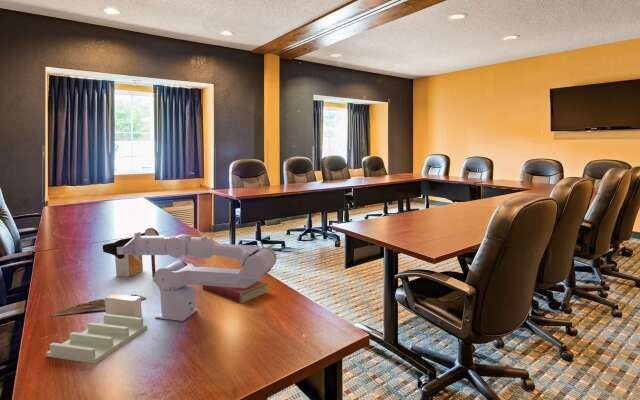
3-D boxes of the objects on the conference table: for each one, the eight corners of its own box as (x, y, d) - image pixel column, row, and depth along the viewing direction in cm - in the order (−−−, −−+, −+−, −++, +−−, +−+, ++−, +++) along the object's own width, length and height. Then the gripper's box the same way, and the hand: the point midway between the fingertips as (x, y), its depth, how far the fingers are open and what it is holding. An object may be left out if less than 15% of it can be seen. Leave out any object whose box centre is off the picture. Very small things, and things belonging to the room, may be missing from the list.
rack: (147, 328, 107) (146, 317, 107) (95, 363, 90) (94, 351, 89) (104, 322, 110) (104, 312, 110) (46, 356, 93) (45, 344, 92)
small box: (129, 277, 150) (127, 244, 148) (115, 275, 151) (113, 243, 149) (143, 270, 157) (141, 239, 156) (130, 269, 159) (128, 238, 157)
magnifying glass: (163, 280, 146) (160, 228, 143) (159, 281, 144) (157, 229, 142) (148, 276, 150) (145, 226, 147) (144, 278, 149) (141, 227, 146)
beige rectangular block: (141, 315, 115) (140, 296, 115) (135, 320, 113) (133, 300, 112) (113, 312, 118) (112, 293, 117) (106, 316, 115) (104, 297, 114)
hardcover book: (240, 305, 124) (240, 292, 124) (202, 290, 137) (201, 279, 137) (267, 294, 133) (267, 282, 133) (229, 281, 146) (229, 270, 146)
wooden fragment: (144, 293, 133) (144, 290, 133) (147, 305, 124) (147, 302, 124) (55, 308, 121) (54, 305, 121) (50, 322, 111) (50, 319, 111)
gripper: (165, 227, 121) (128, 228, 124) (135, 237, 107) (93, 237, 110) (167, 249, 122) (130, 249, 125) (137, 261, 108) (95, 261, 111)
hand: (113, 245), depth 117 cm, fingers open, 7 cm apart
